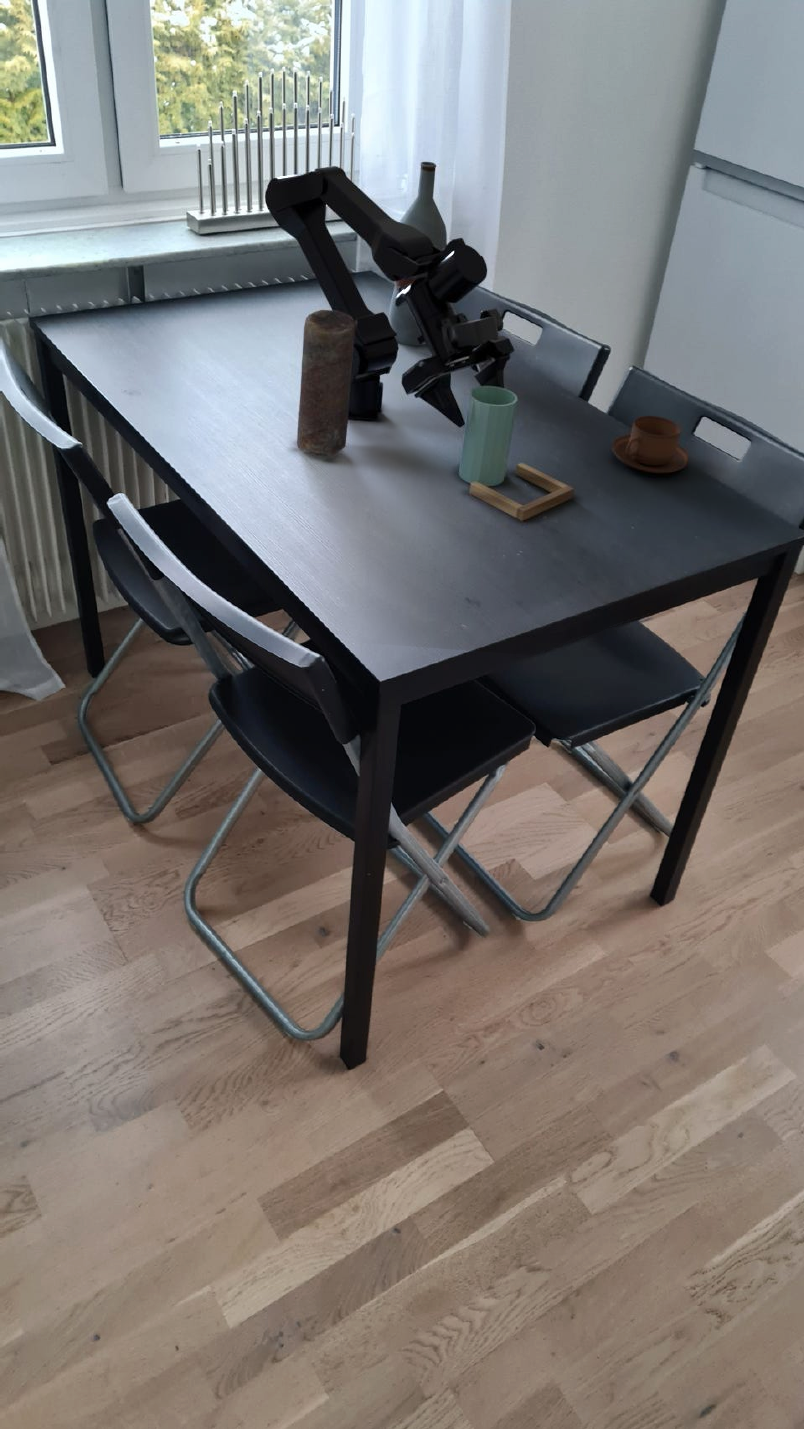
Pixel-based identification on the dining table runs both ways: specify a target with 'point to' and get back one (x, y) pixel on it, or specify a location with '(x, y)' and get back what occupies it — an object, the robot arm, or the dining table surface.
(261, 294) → the dining table surface
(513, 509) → the frame
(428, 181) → the bottle
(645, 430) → the cup and saucer
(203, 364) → the dining table surface
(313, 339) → the brown textured cylinder
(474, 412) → the glass
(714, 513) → the dining table surface
